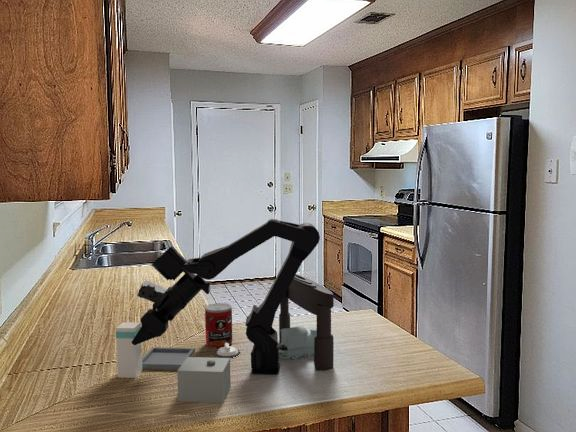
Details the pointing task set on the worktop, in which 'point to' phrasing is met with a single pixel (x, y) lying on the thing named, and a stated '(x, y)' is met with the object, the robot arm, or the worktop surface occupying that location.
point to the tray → (166, 358)
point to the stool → (298, 338)
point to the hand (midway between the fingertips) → (137, 337)
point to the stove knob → (227, 352)
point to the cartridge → (128, 350)
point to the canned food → (218, 324)
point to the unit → (204, 379)
